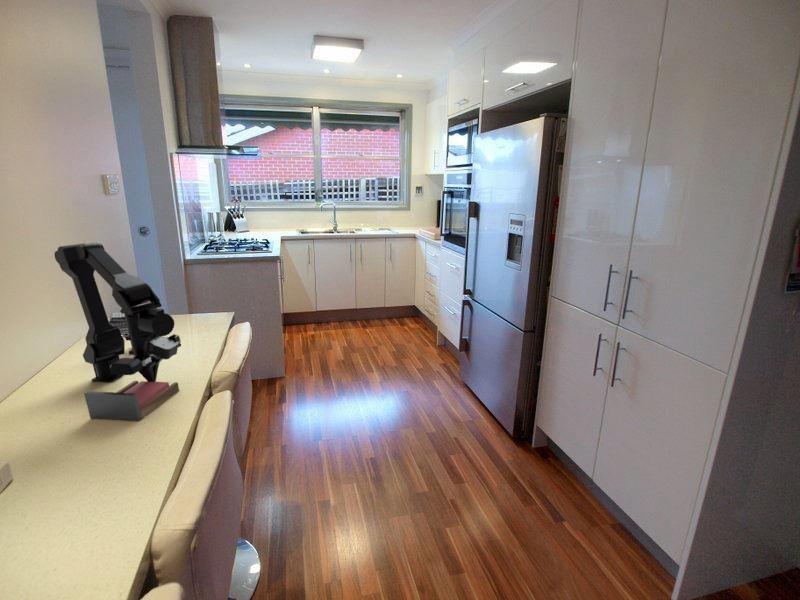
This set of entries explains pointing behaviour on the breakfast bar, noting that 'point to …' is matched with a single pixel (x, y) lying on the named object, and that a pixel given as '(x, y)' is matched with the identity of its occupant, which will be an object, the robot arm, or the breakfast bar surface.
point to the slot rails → (156, 400)
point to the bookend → (113, 406)
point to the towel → (119, 322)
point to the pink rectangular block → (147, 390)
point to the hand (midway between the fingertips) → (152, 383)
